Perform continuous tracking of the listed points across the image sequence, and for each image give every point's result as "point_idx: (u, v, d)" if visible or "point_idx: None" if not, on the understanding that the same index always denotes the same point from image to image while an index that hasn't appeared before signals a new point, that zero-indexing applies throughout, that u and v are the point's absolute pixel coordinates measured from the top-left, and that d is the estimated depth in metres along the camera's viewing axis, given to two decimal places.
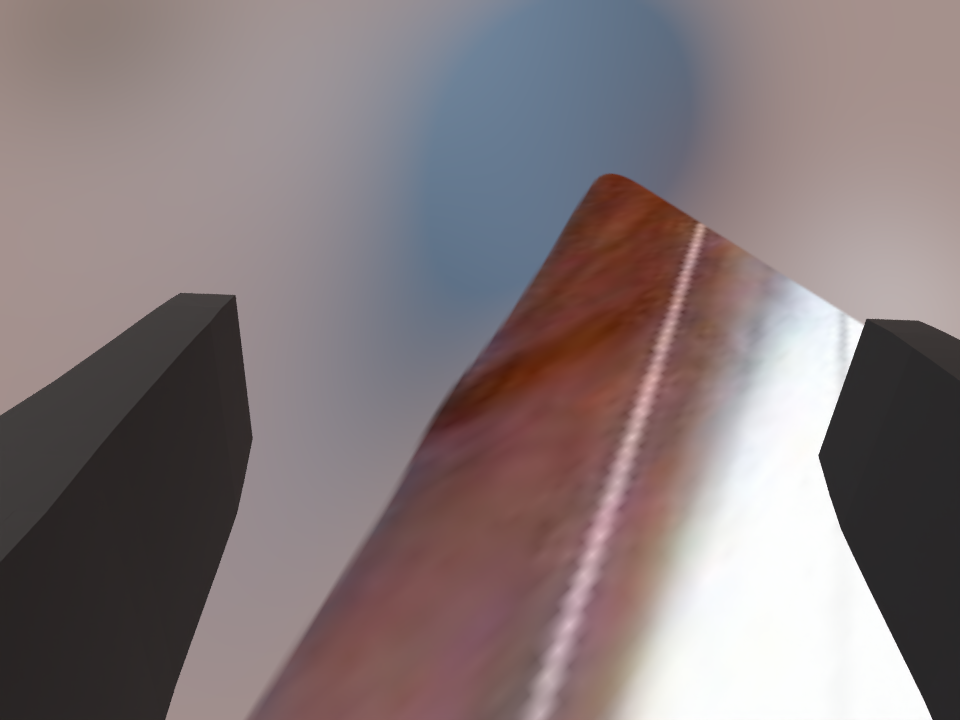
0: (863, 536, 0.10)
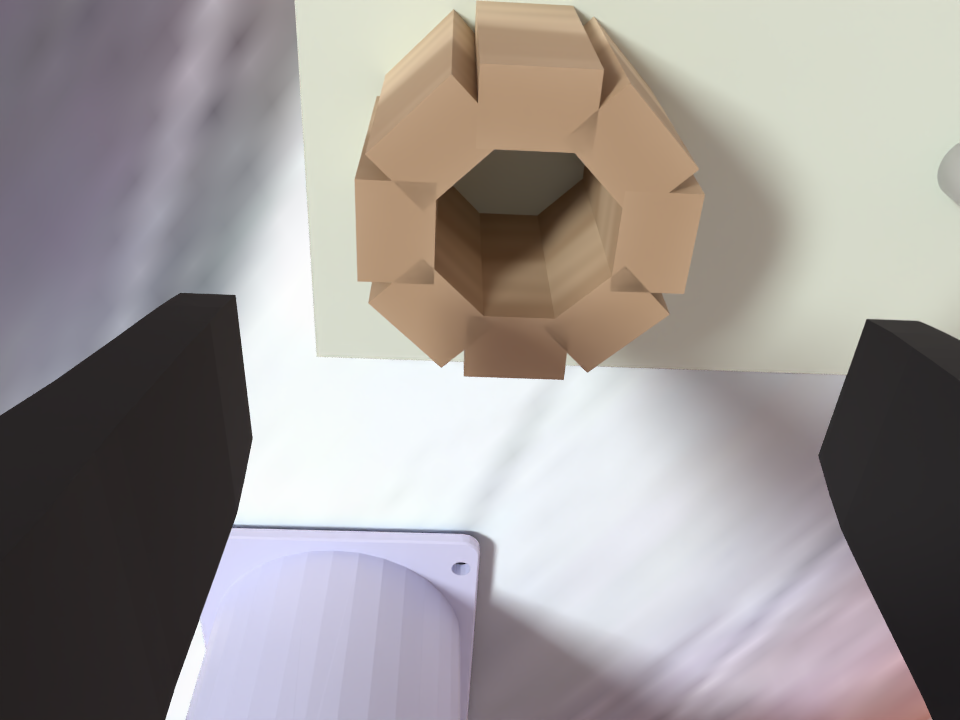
0: (863, 536, 0.10)
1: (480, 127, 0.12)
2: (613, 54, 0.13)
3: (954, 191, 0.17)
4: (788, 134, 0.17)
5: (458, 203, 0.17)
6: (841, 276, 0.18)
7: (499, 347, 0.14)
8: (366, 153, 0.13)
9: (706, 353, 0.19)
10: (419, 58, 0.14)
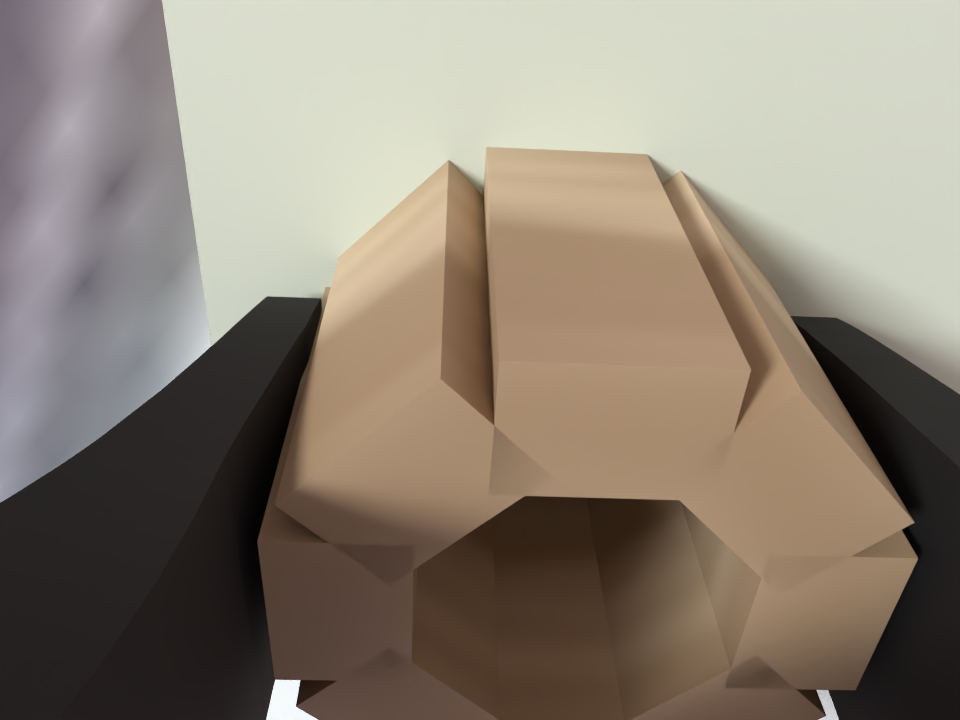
0: None
1: (498, 462, 0.06)
2: (741, 284, 0.07)
3: None
4: None
5: None
6: None
7: None
8: (277, 503, 0.06)
9: None
10: (388, 260, 0.08)
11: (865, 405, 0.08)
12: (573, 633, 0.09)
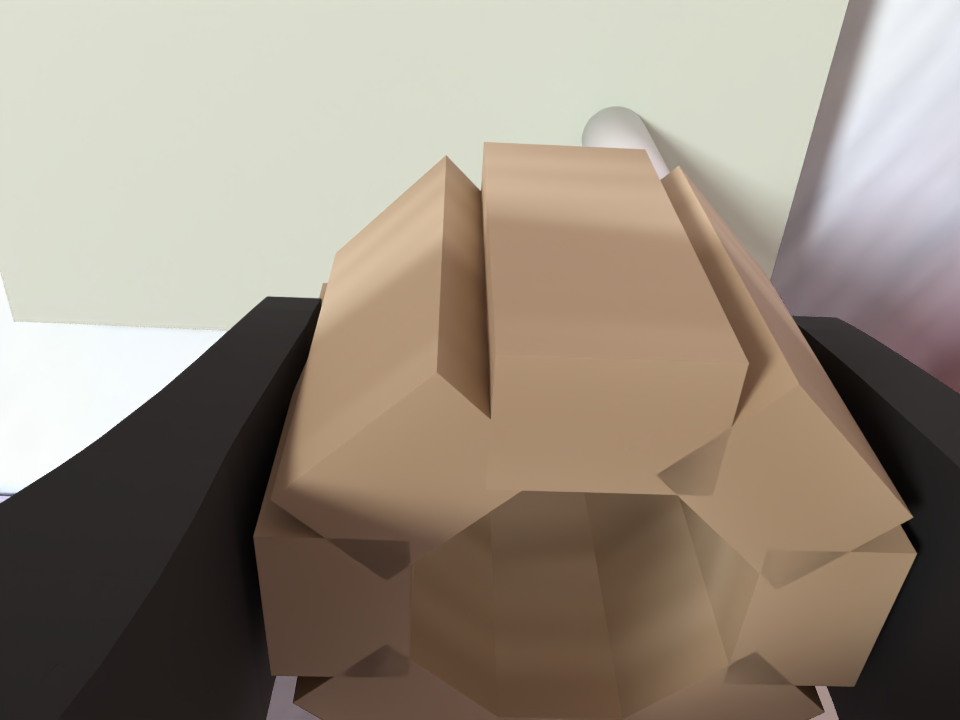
0: None
1: (495, 456, 0.06)
2: (739, 279, 0.07)
3: None
4: (427, 103, 0.17)
5: None
6: None
7: None
8: (273, 498, 0.06)
9: None
10: (386, 255, 0.08)
11: (866, 406, 0.08)
12: (571, 630, 0.09)
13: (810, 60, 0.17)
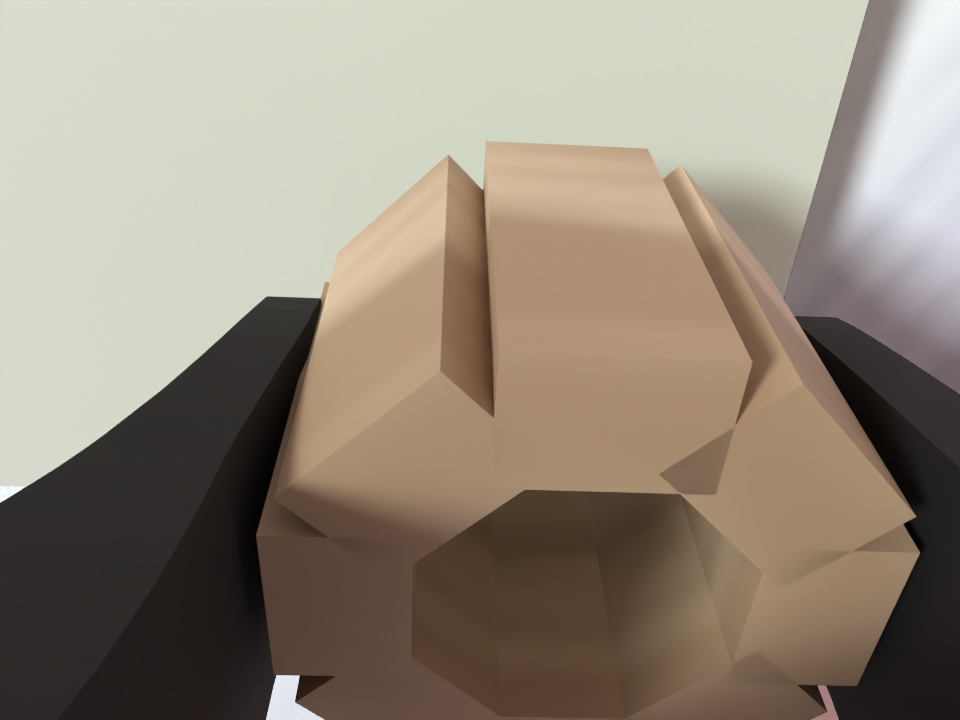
0: None
1: (498, 455, 0.06)
2: (742, 278, 0.07)
3: None
4: (269, 209, 0.12)
5: None
6: None
7: None
8: (276, 497, 0.06)
9: None
10: (388, 254, 0.08)
11: (866, 405, 0.08)
12: (573, 629, 0.09)
13: (796, 148, 0.12)
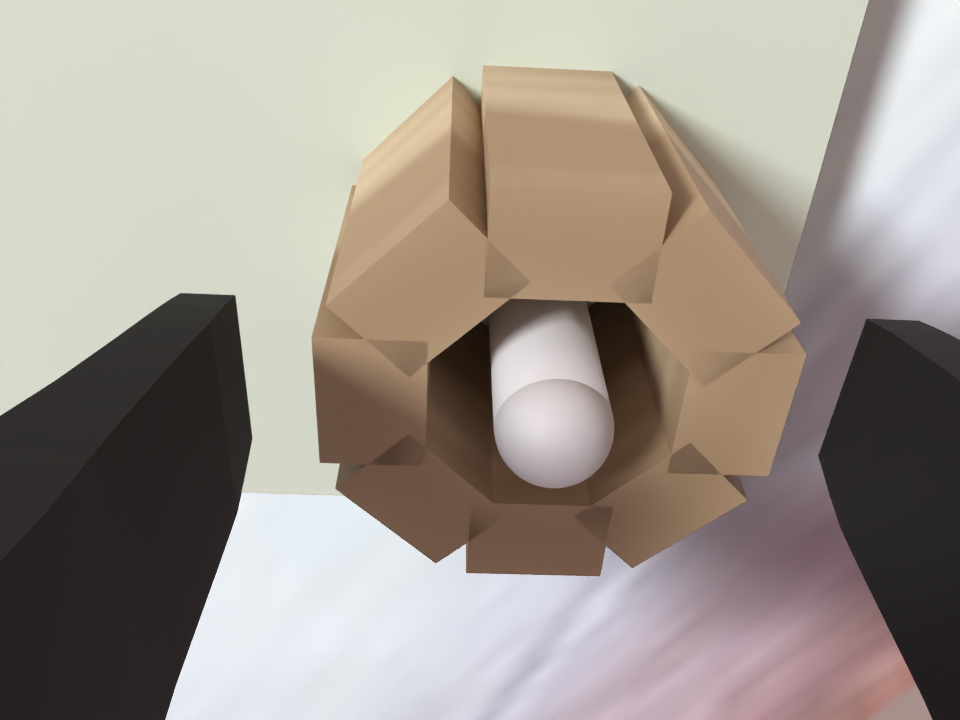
0: (863, 536, 0.10)
1: (491, 269, 0.09)
2: (675, 153, 0.09)
3: None
4: (269, 209, 0.12)
5: None
6: None
7: (514, 539, 0.11)
8: (327, 304, 0.09)
9: (260, 474, 0.15)
10: (406, 148, 0.11)
11: None
12: None
13: (796, 148, 0.12)
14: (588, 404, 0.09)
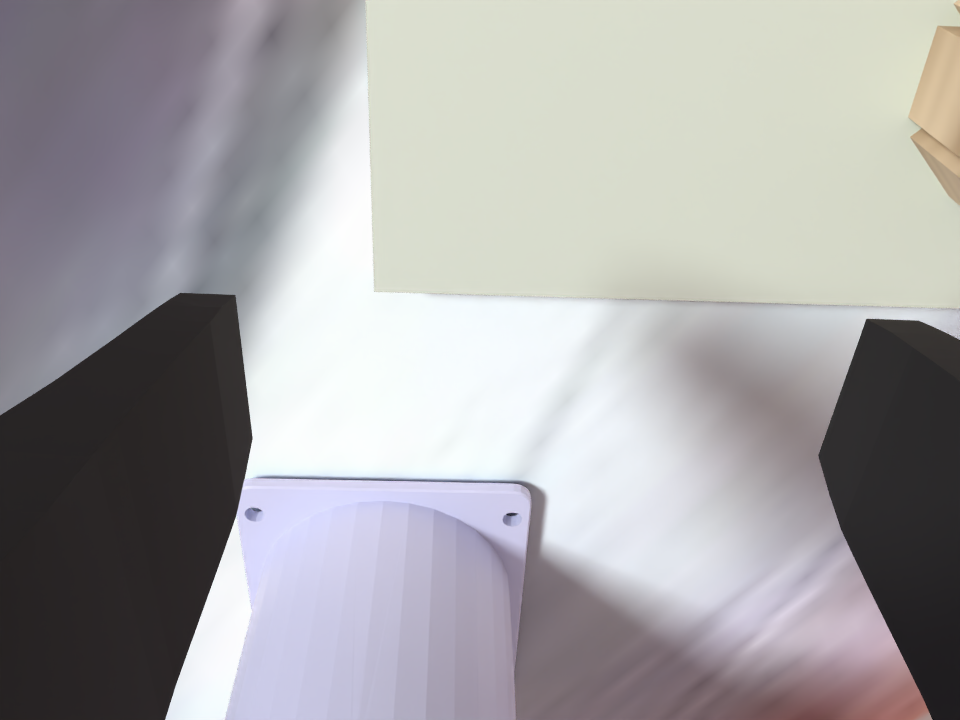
0: (863, 536, 0.10)
1: None
2: None
3: None
4: (866, 46, 0.16)
5: None
6: (915, 201, 0.18)
7: None
8: None
9: (773, 285, 0.19)
10: None
11: None
12: None
13: None
14: None
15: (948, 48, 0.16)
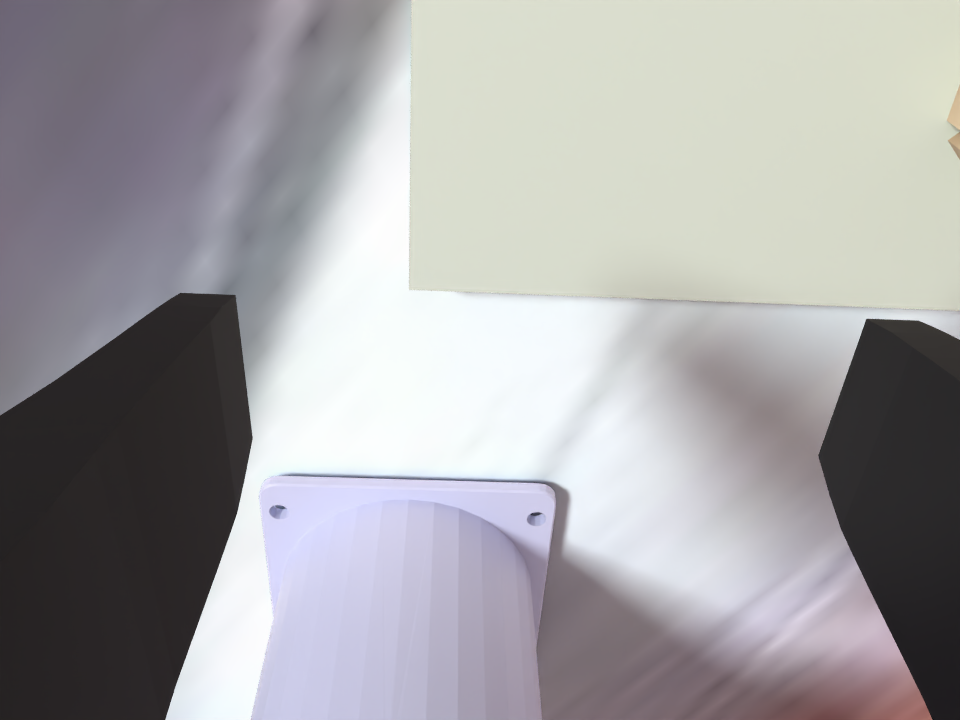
0: (863, 536, 0.10)
1: None
2: None
3: None
4: (908, 50, 0.16)
5: None
6: (950, 204, 0.18)
7: None
8: None
9: (806, 287, 0.19)
10: None
11: None
12: None
13: None
14: None
15: None
